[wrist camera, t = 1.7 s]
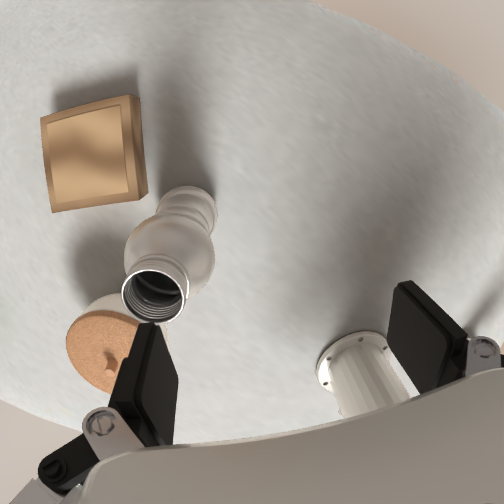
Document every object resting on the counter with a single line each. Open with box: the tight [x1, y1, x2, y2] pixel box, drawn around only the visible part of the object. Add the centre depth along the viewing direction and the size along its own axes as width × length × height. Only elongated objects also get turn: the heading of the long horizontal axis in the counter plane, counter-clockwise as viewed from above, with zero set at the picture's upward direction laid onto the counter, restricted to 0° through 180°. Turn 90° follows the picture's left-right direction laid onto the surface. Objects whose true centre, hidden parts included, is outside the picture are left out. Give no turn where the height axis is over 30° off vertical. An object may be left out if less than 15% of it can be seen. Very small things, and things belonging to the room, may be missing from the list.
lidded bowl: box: [66, 293, 170, 394], centre depth 34 cm, size 13×13×11 cm
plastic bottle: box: [121, 186, 218, 325], centre depth 25 cm, size 6×7×20 cm
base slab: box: [40, 94, 148, 213], centre depth 29 cm, size 11×11×4 cm
